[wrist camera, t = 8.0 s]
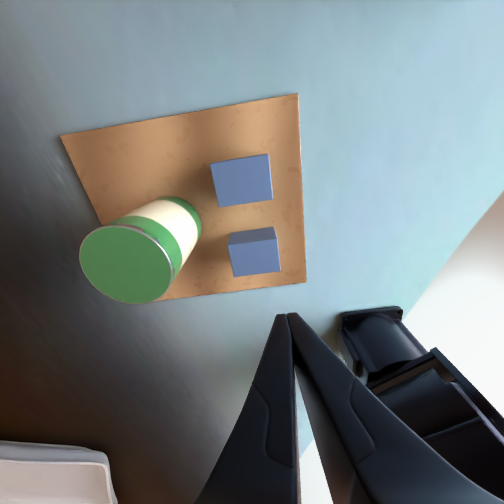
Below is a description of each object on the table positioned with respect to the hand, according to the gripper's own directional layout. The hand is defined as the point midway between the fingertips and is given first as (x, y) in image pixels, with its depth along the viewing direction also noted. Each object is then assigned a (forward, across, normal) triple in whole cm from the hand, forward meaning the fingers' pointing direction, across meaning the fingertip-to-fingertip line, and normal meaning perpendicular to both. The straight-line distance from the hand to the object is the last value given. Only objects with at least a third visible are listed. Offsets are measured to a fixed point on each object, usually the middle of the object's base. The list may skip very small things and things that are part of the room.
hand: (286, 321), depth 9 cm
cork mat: (+12, +6, -2) cm, 13 cm away
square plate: (+12, +46, +42) cm, 63 cm away
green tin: (+11, +5, -2) cm, 12 cm away
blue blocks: (+11, +2, -2) cm, 12 cm away
